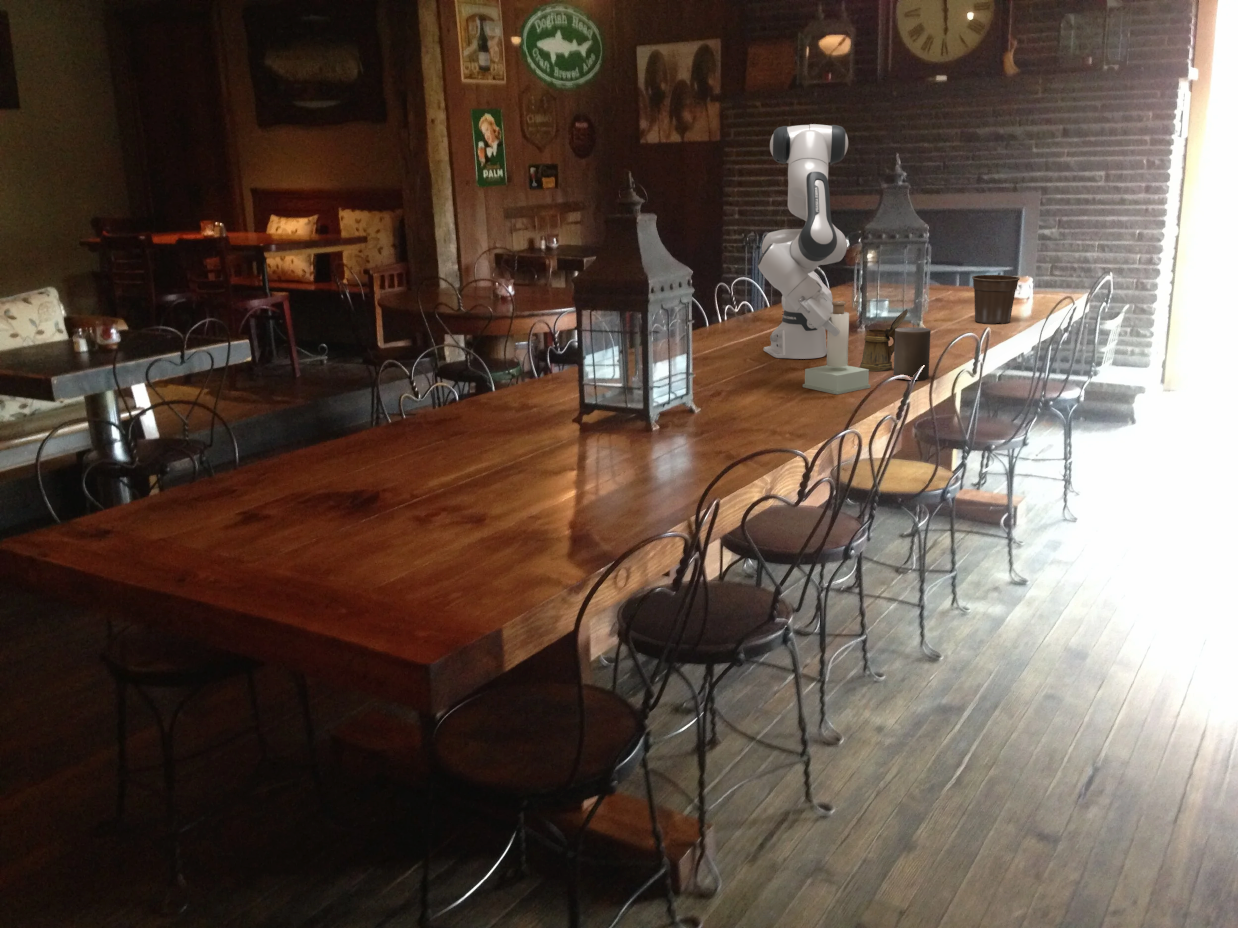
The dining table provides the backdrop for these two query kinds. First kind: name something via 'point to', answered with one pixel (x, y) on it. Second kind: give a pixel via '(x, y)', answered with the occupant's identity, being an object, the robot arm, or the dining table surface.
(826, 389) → the plinth
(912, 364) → the pillar candle
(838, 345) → the stoneware bottle
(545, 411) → the dining table surface
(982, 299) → the plant pot
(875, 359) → the wooden mug
